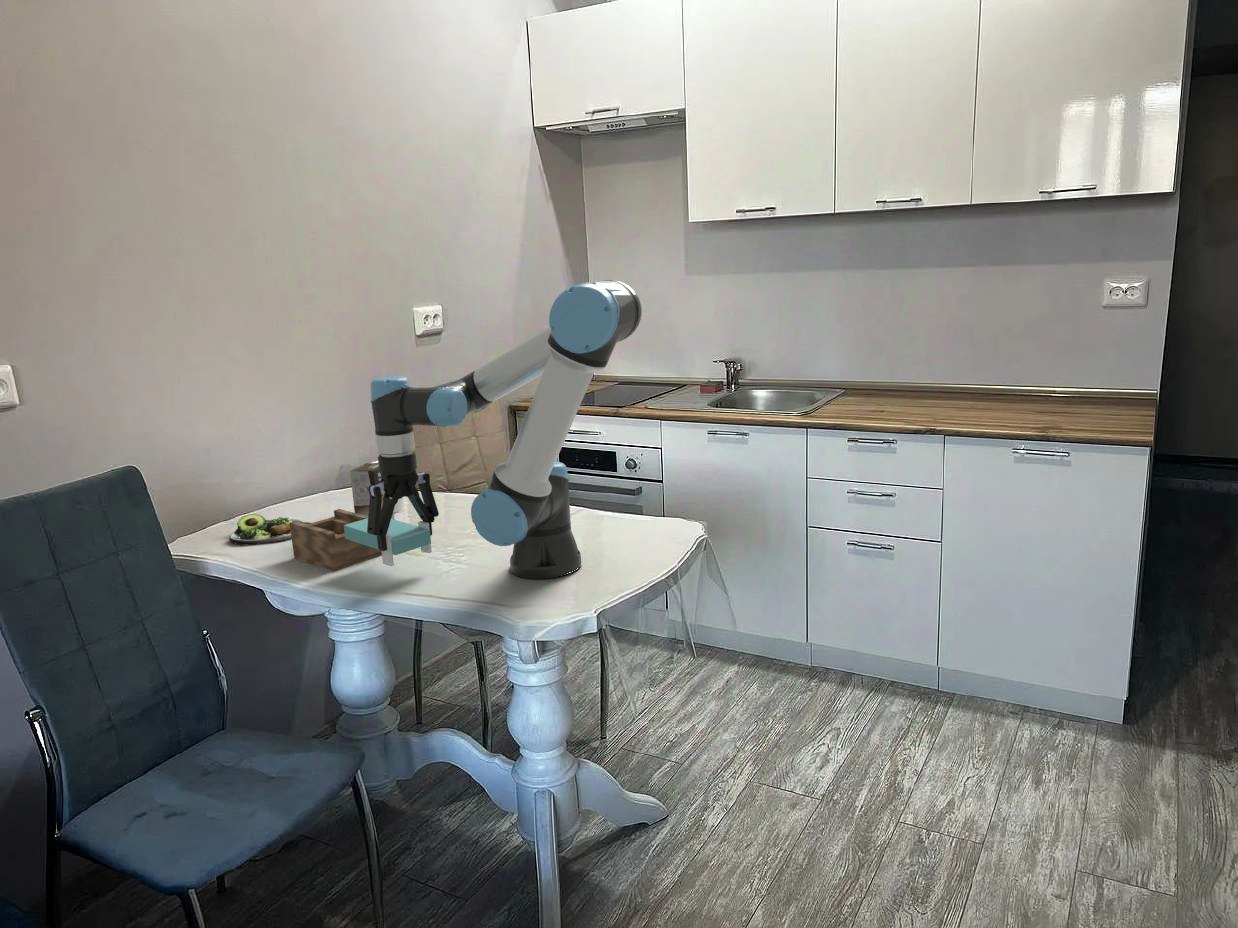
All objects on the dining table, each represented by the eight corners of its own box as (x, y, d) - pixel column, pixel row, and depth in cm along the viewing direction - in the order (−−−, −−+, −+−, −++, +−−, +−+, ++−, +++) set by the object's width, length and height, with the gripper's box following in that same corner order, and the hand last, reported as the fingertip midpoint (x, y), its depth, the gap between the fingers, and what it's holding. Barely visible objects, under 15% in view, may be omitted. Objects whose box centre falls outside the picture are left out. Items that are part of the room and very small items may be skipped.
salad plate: (320, 521, 244) (318, 504, 242) (307, 541, 226) (305, 523, 225) (244, 527, 241) (241, 510, 240) (225, 548, 224) (222, 530, 223)
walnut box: (383, 554, 212) (379, 519, 210) (333, 571, 203) (328, 534, 201) (343, 543, 223) (339, 508, 221) (294, 558, 213) (289, 522, 211)
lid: (431, 543, 196) (429, 529, 195) (395, 555, 189) (394, 541, 188) (380, 527, 207) (378, 515, 206) (345, 538, 201) (343, 525, 200)
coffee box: (380, 534, 228) (373, 470, 224) (356, 534, 229) (348, 470, 226) (396, 523, 237) (389, 461, 233) (372, 523, 238) (365, 462, 234)
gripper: (427, 441, 200) (437, 541, 205) (339, 461, 184) (352, 569, 189) (450, 444, 195) (459, 546, 200) (361, 466, 179) (374, 576, 184)
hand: (407, 557), depth 195 cm, fingers closed on lid, 9 cm apart
